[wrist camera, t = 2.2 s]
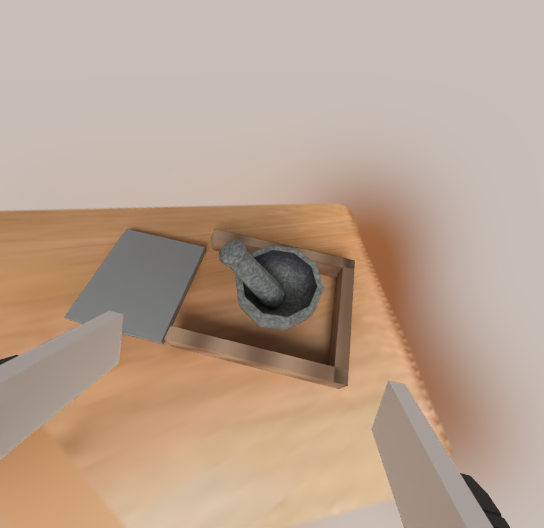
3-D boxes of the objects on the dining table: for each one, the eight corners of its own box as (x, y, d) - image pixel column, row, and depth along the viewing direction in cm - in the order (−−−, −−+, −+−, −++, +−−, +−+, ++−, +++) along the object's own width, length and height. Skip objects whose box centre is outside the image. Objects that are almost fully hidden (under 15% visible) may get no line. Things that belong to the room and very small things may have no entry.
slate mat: (69, 320, 31) (64, 317, 30) (129, 233, 38) (126, 228, 37) (163, 344, 30) (160, 341, 29) (206, 250, 38) (204, 246, 37)
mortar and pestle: (312, 280, 36) (336, 224, 26) (309, 346, 31) (338, 309, 21) (234, 269, 36) (228, 208, 26) (218, 333, 31) (204, 289, 21)
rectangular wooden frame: (171, 346, 30) (164, 338, 28) (216, 241, 39) (214, 228, 36) (339, 388, 29) (347, 385, 26) (347, 271, 37) (354, 260, 35)
